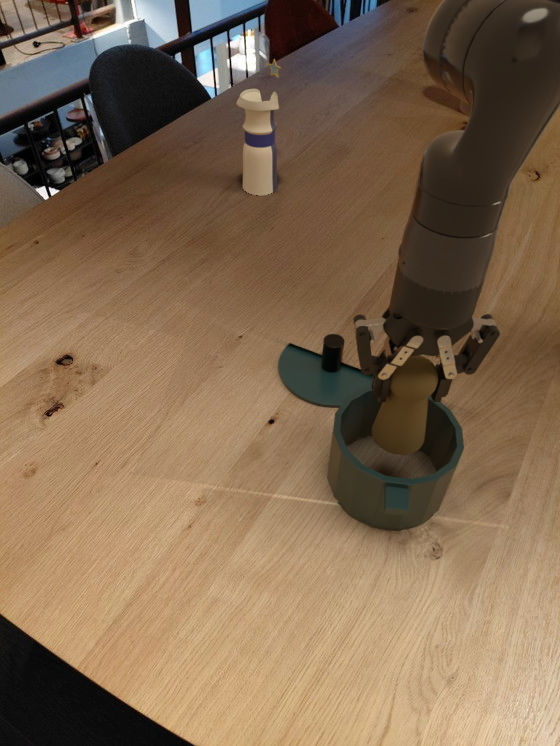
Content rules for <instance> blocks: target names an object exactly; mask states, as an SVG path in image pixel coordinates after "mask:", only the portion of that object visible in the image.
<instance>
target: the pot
mask: <svg viewBox="0 0 560 746" xmlns="http://www.w3.org/2000/svg"><path fill="white" fill-rule="evenodd" d="M382 403H383V402H378V398H374V396H373V392H372V387H371V386H368V387H364V388H362V389H360V390H358V391H357V392H355V393H353V394H351V395H350V396H348V397H346V398H345V400H344V401H343V403H342V404H341V405H340V407H337V409H336V411H335V413H334V419H333V425H332V433H331V441H330V446H329V447H330V448H329V456H328V464H327V473H326V478H327V481H328V484H329V486H330V490H331V492H332V494H333V497H334V498H335V499H336V500H337V504H338V505H339V506H340V508H341V509H342V510H344V511H345V512H346V513H347V514H348V515H349V516H350V517H352V518H354V519H355V520H356V521H358V522H360V523H362V524H364V525H367V526H370V527H371V528H375V529H381V530H384V531H385V530H386V531H403V530H409V529H413V528H416V527H418V526H420V525H423V524H424V523H426V522H427V521H429V520H430V519H432V517H434V514H436V513H437V512H438V511H439V510H440V507H441V505H442V503H443V501H444V499H445V497H446V494H447V492H448V490H449V488H450V485H451V482H452V480H453V477H454V475H455V472H456V470H457V467H458V465H459V463H460V460H461V458H462V455H463V452H464V450H465V444H464V434H463V427H462V426H461V424H460V423H459V421H458V420H457V419H458V418H456V416H455V414H454V412H453V411H452V410H451V409H450V408H449V407H448V406H447V405H445V404H444V403H442V401H440V402H433V400H432V397H431V395H430V396H429V399H428V409H427V419H426V429H425V439H424V442H423V445H422V446H421V447H420V448H419V450H420V451H421V452H423V454H425V455H426V456H427V457H428V458H429V459H430V462H431V463H432V465H433V467H434V469H435V470H436V471H435V472H434V473H432V474H430V475H423V476H419V477H414V478H406V477H398V476H391V475H386V474H383V473H381V472H380V471H377V470H374V469H372V468H371V467H368V466H366V465H364V464H363V463H362V462H361V461H360V460H359V459H358V458H357V457H356V456H355V455H354V454H353V453H352V452H351V451H350V450H349V449H348V447H347V446H348V445H349V444H351V443H352V442H354V441H356V440H357V439H359V438H365V437H368V436H369V437H370V436H372V426H373V424H374V422H375V419H376V417H377V414H378V412H379V410H380V407H381V405H382Z"/></svg>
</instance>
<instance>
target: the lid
mask: <svg viewBox="0 0 560 746" xmlns="http://www.w3.org/2000/svg"><path fill="white" fill-rule="evenodd" d="M345 342H346V341H345V338H344V337H343V336H342V335H340V334H337V333H329V334H327V335H325V336H324V337H323V341H322V349H321V353H318V352H316V351H313V350H310V349H307V348H305V347H302V346H299V345H297V344H294V343H291V342H289V343H288V344H287V345H285V347H284V349H283V350H282V352H281V354H280V356H279V360H278V364H277V365H278V366H277V367H278V374H279V377H280V379H281V382H282V383H283V385H284V387H286V388H287V390H288V391H289V392H290V393H292V394H293V395H294V396H296V397H297V398H299V399H300V400H302V401H304V402H307V403H309V404H312V405H316V406H319V407H320V406H321V407H326V408H339V407H340V405H341V404H342V403H343V401H344V400H345V398H346V397H348V396H350V395H351V394H353V393H355V392H357V391H358V390H360V389H362V388H364V387H368V386H371V383H372V378H373V374H370V375H363V374H362V373H361V368H359V367H356V366H353V365H350V364H348V363H345V362H343V357H344V349H345Z"/></svg>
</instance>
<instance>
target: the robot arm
mask: <svg viewBox="0 0 560 746" xmlns="http://www.w3.org/2000/svg"><path fill="white" fill-rule="evenodd" d="M422 42H423V43H422V49H421V50H422V61H423V65H424V68H425V71H426V73H427V75H428V76H429V77H430V79H431V80H432V81H433V82H434V83H435V84H436V85H437V86H438V87H439V88H440V89H442V90H444V91H445V92H447V93H449V94H450V95H452V96H454V97H455V98H457V99H459V100H461V101H462V102H464V103H466V104H467V105H469V106H470V107H471V108H470V114H469V118H468V120H467V124H466V126H465V128H464V129H458V130H449V131H446V132H443V133H440V134H439V135H437V136H435V137H434V138H433V139H432V140H430V141H429V143H428V144H427V146H426V147H425V149H424V151H423V155H422V158H421V162H420V164H419V169H418V174H417V179H416V183H415V189H414V194H413V198H412V203H411V209H410V212H409V216H408V219H407V221H406V224H405V227H404V230H403V234H402V238H401V242H400V244H399V246H398V253H397V255H398V257H397V263H396V268H395V274H394V279H393V284H392V289H391V294H390V300H389V305H388V307H387V309H386V310H385V311H384V312H383V313H382V315H381V316H380V317H374V318H367V317H366V315H364V314H357V315H355V316H354V317H353V320H352V321H353V327H354V335H355V344H356V350H357V357H358V362H359V367H360V368H359V369H361V373H362V374H363V375H370V374H373V378H372V383H371V387H372V392H373V396H374V398H378V402H386V399H387V394H388V390H389V385H390V381H391V379H390V376H391V374H392V373H393V372H394V371H395V369H396V368H397V367H401V366H402V365H403V364H404V363H405V361H406V360H407V359H408V357H409V356H418V355H421V356H427V357H438V359H439V363H437V364H435V367H436V369H437V371H438V383H437V386H436V389H435V391H434V392H433V393H432V394H431V397H432V400H433V402H442V399H443V398H446V397H447V395H448V394H449V391H450V389H451V386H452V383H453V379H455V378H456V377H457V376H458V374H462V373H464V375H468V376H471V375H473V374H475V373H476V372H477V370H478V369H479V368H480V366H481V365H482V363H483V361H484V360H485V358H486V357H487V355H488V354H489V353H490V351H491V350H492V348H493V347H494V345H495V343H496V342H497V341H498V339H499V337H500V336H501V332H500V329H499V328H498V325H497V323H496V321H495V319H494V317H493V315H492V314H490V313H486V314H485V313H484V314H483V315H481V317H475V316H474V313H475V312H476V311H475V310H476V308H477V305H478V301H479V299H480V296H481V293H482V290H483V286H484V284H485V280H486V278H487V274H488V273H489V268H490V265H491V262H492V259H493V257H494V253H495V249H496V244H497V240H498V232H499V229H500V224H501V221H502V218H503V215H504V211H505V209H506V206H507V202H508V200H509V196H510V194H511V191H512V188H513V184H514V181H515V179H516V177H517V175H518V174H519V172H520V171H521V169H522V168H523V165H525V163H526V161H527V160H528V158H529V157H530V155H531V154H532V152H533V151H534V149H535V147H536V146H537V144H538V143H539V141H540V140H541V138H542V137H543V135H544V133H545V132H546V131H547V128H549V125H550V124H551V122H552V121H553V119H555V118H554V117H555V116H556V115H557V113H558V112H559V110H560V0H441V2H440V3H439V5H438V6H437V7H436V9H435V11H434V12H433V15H432V16H431V18H430V20H429V22H428V24H427V27H426V30H425V33H424V37H423V40H422ZM383 331H384V333H385V334H386V338H385V339H384V341H383V346H382V347H381V349H380V350H379V351H378V353H377V354H376V355H373V354H372V347H371V345H374V344H375V343H376V340H377V339H378V336H379V334H380V333H381V332H383ZM468 334H469V336H468V337H467V338H466V341H465V342H464V344H463V345H462V347H461V349H460V350H459V352H458V353H457V354H456V355H455V354H454V350H453V346H454V345H456V343H458V342H459V341H461V340H462V339H463V338H464V337H465V336H467V335H468Z"/></svg>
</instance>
